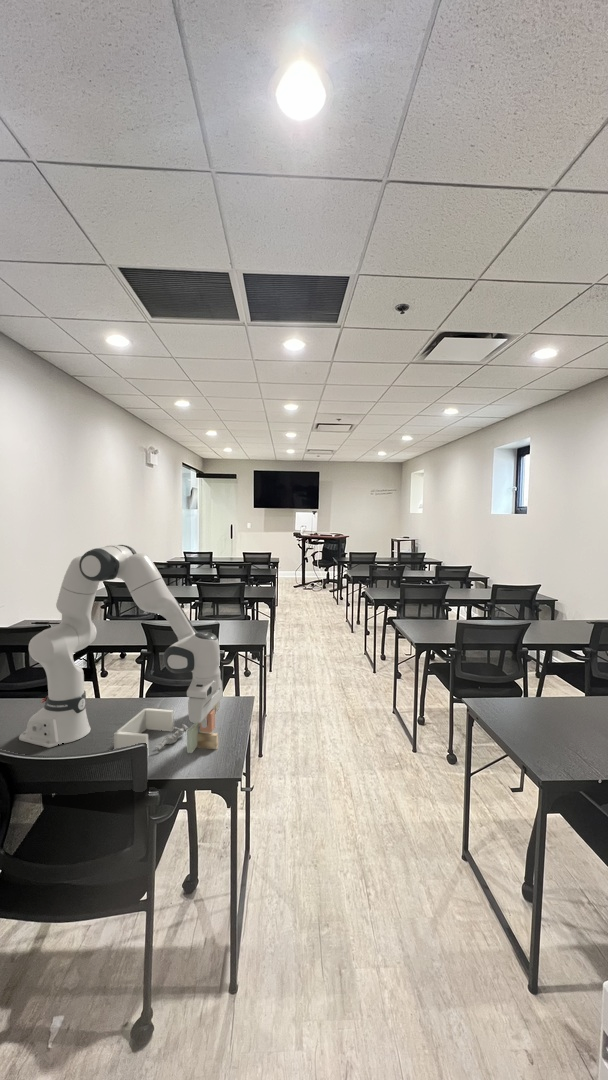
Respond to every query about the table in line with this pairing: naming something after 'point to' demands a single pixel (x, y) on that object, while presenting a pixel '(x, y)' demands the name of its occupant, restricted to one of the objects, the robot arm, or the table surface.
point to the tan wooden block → (207, 740)
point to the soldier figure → (172, 737)
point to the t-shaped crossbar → (196, 728)
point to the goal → (143, 727)
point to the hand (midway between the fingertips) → (207, 723)
